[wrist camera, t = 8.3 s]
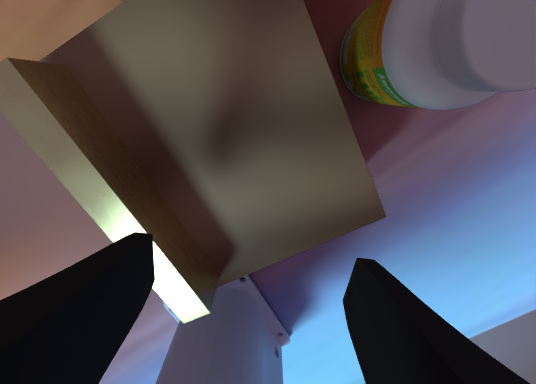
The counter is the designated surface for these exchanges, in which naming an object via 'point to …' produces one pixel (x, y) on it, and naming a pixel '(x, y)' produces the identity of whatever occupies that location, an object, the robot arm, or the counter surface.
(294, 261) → the counter surface
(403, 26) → the supplement bottle
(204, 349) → the robot arm
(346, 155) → the lid
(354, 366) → the counter surface
